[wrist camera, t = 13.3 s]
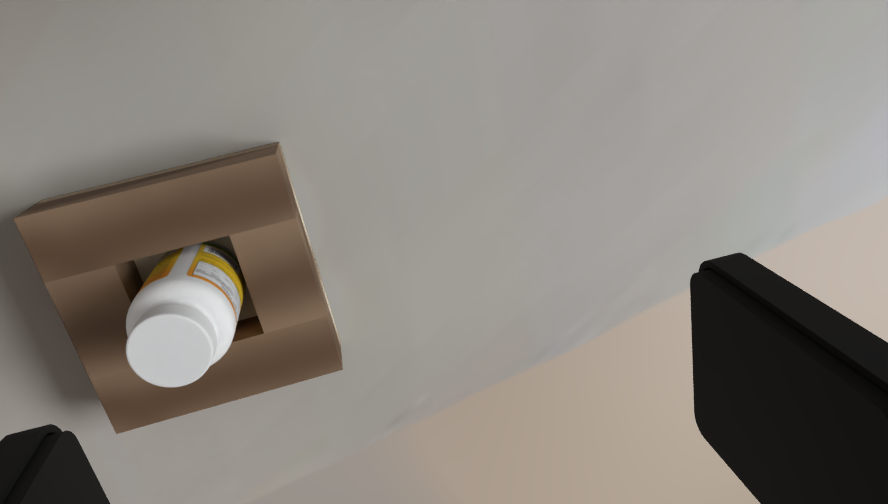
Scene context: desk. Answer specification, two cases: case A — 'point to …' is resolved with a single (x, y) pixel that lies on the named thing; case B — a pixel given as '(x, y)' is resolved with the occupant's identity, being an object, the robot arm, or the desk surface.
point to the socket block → (172, 227)
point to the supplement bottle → (185, 314)
